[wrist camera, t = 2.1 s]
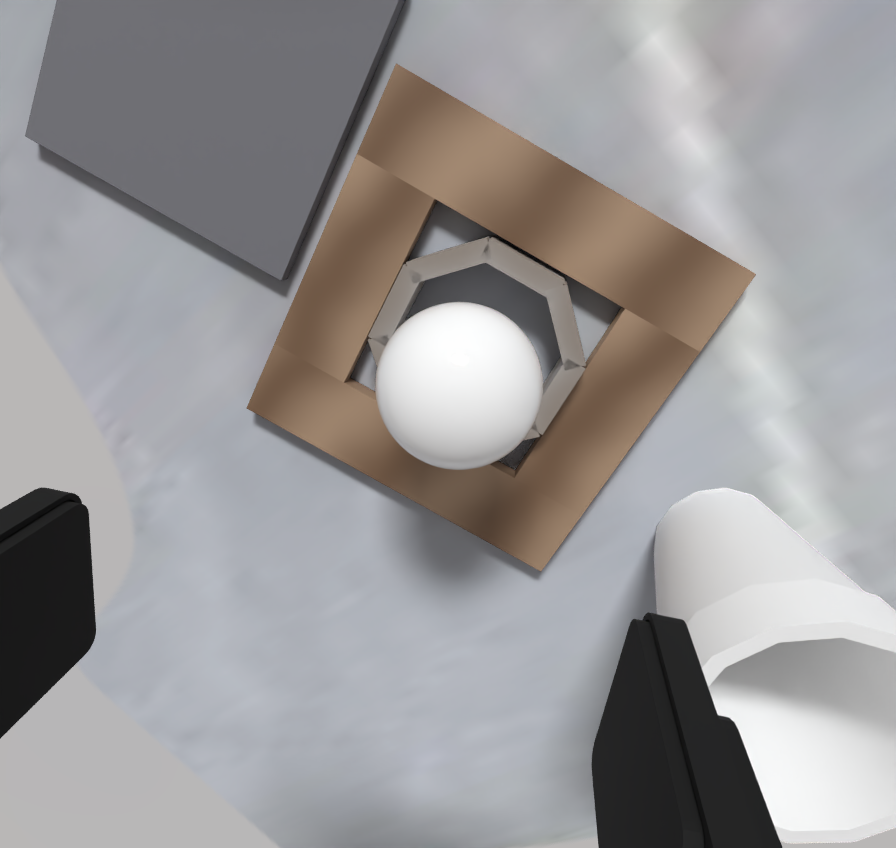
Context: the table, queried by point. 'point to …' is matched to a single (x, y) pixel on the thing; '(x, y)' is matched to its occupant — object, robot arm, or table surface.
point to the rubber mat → (212, 107)
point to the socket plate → (542, 235)
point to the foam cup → (787, 662)
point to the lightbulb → (459, 385)
